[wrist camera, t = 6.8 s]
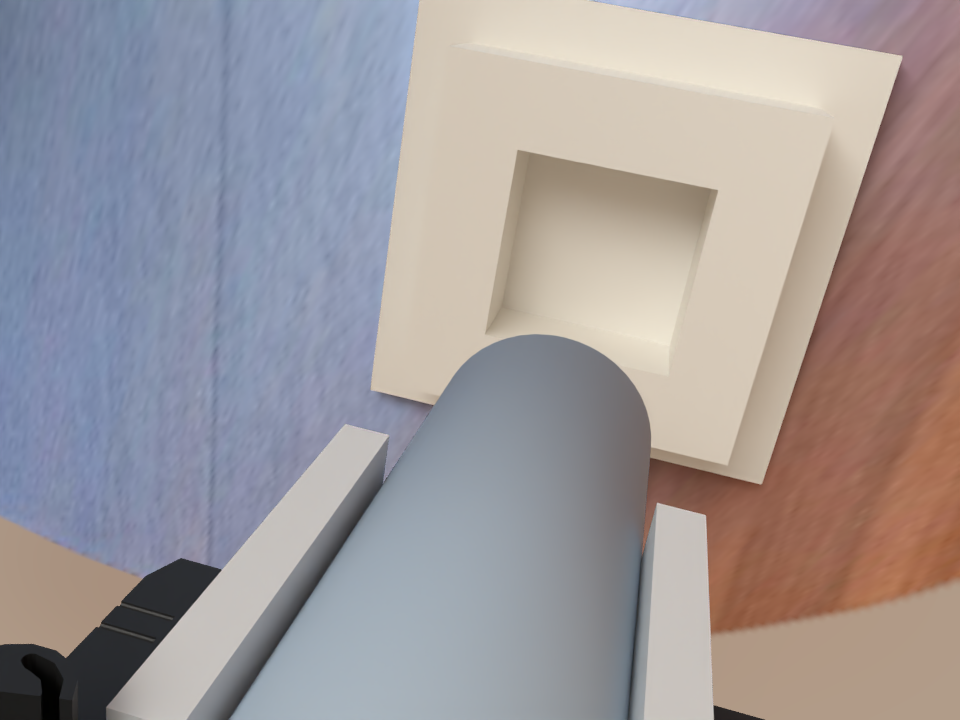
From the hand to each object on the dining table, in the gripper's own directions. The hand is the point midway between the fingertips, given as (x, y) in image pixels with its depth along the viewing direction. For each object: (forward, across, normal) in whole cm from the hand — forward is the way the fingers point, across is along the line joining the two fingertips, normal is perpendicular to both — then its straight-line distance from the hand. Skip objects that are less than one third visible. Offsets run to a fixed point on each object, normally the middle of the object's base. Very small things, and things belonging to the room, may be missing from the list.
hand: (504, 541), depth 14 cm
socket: (+21, 0, 0) cm, 21 cm away
